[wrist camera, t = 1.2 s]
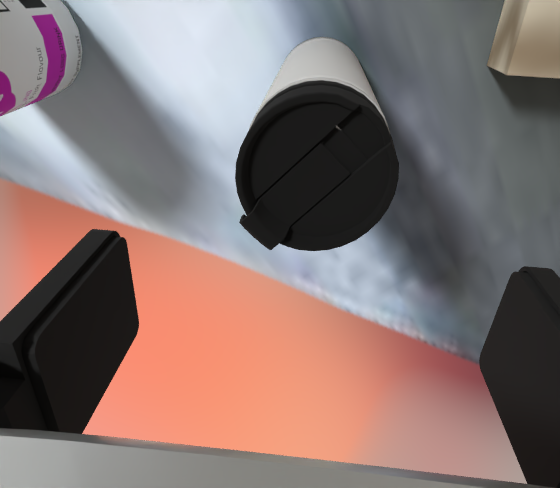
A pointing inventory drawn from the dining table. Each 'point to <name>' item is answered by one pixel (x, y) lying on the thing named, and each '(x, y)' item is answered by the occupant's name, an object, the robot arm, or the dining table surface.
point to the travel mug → (316, 153)
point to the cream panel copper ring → (528, 39)
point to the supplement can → (36, 51)
